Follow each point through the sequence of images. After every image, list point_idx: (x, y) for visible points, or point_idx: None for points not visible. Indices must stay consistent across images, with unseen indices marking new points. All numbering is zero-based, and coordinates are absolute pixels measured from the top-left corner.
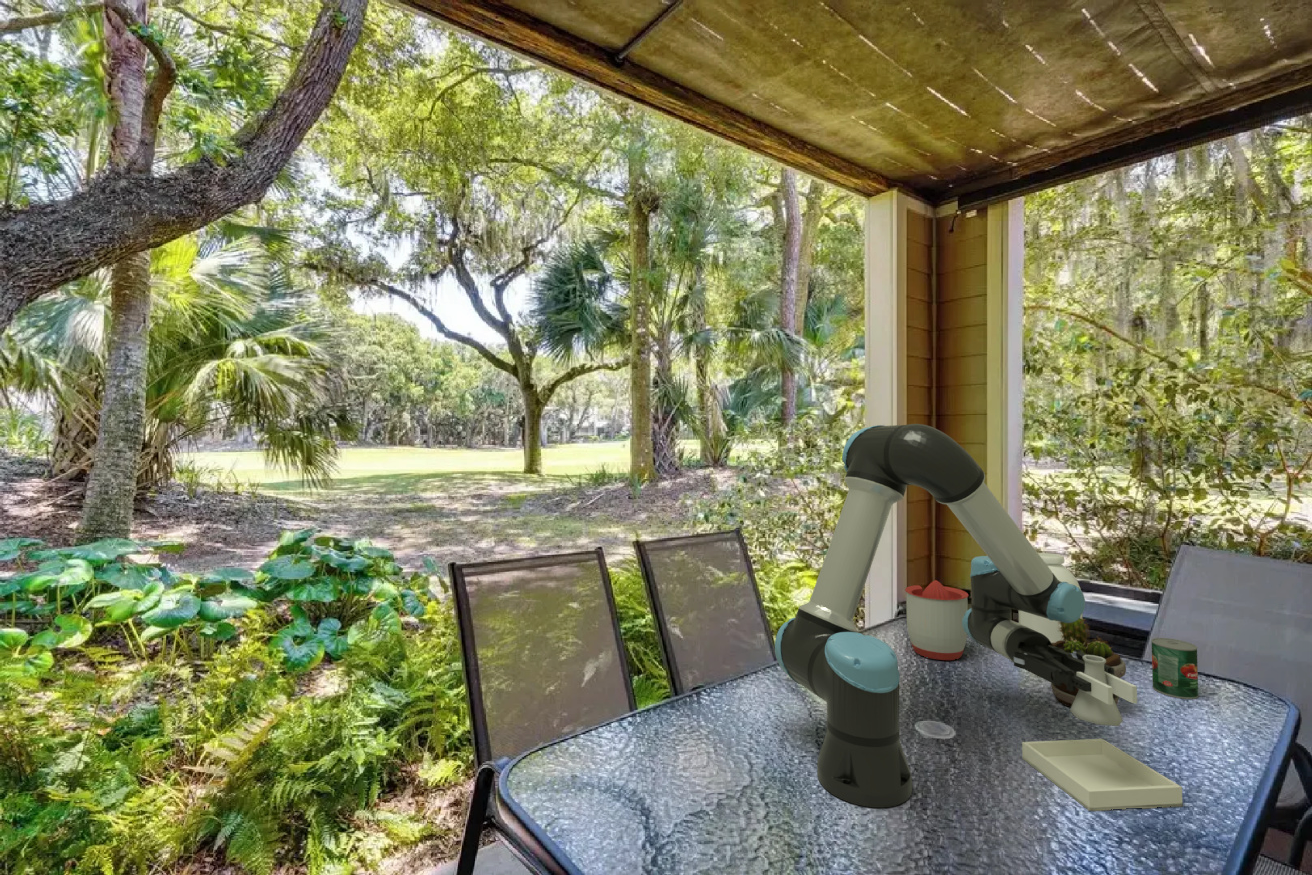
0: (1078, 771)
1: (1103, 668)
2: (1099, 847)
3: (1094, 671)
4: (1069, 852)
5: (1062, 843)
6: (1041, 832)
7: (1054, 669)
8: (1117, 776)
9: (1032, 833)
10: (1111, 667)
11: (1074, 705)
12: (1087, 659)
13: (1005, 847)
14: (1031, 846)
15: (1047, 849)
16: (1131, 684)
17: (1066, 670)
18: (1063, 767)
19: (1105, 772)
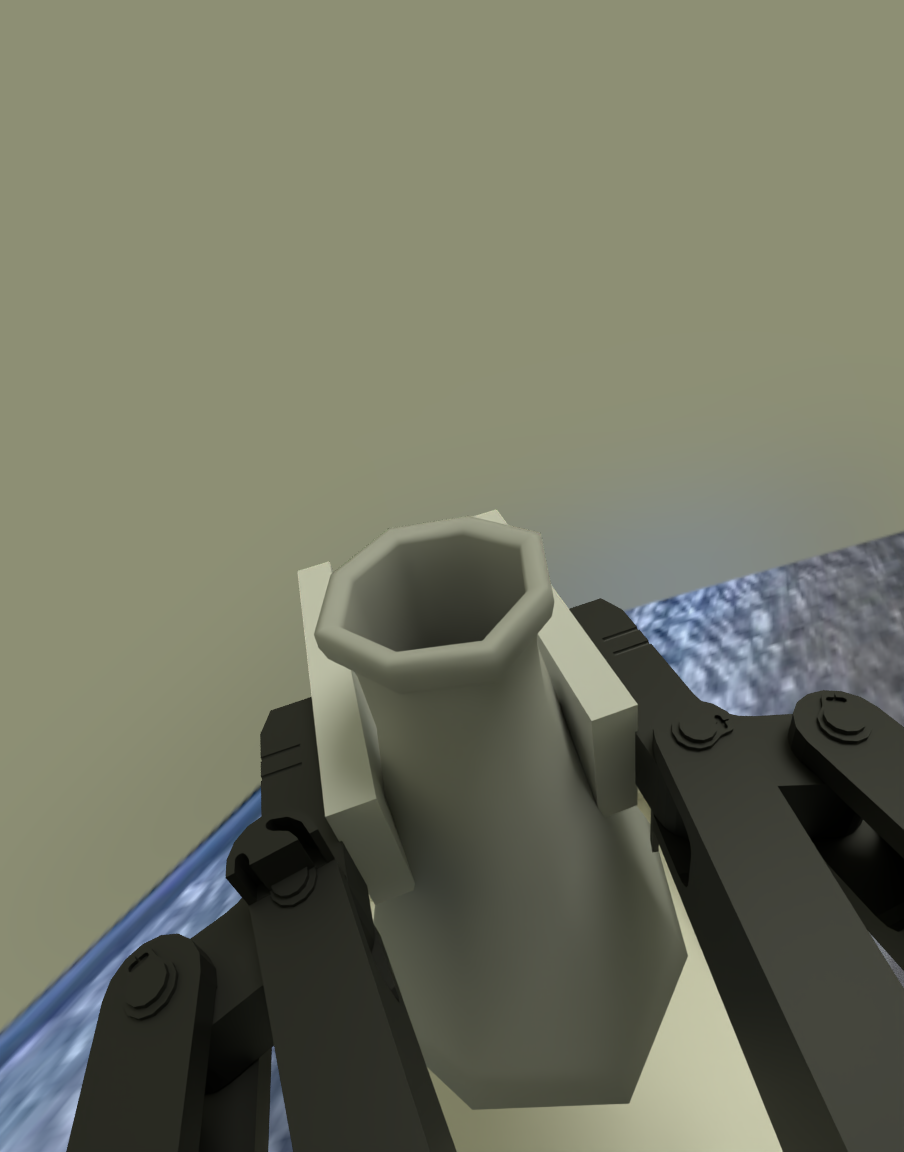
0: (634, 1105)
1: (393, 626)
2: (657, 644)
3: (488, 621)
4: (727, 610)
5: (741, 631)
6: (794, 653)
7: (880, 738)
8: (454, 1098)
9: (816, 642)
10: (130, 977)
11: (658, 887)
12: (530, 531)
13: (872, 582)
14: (813, 602)
15: (776, 604)
16: (308, 587)
17: (737, 746)
18: (708, 1142)
19: (496, 1135)
